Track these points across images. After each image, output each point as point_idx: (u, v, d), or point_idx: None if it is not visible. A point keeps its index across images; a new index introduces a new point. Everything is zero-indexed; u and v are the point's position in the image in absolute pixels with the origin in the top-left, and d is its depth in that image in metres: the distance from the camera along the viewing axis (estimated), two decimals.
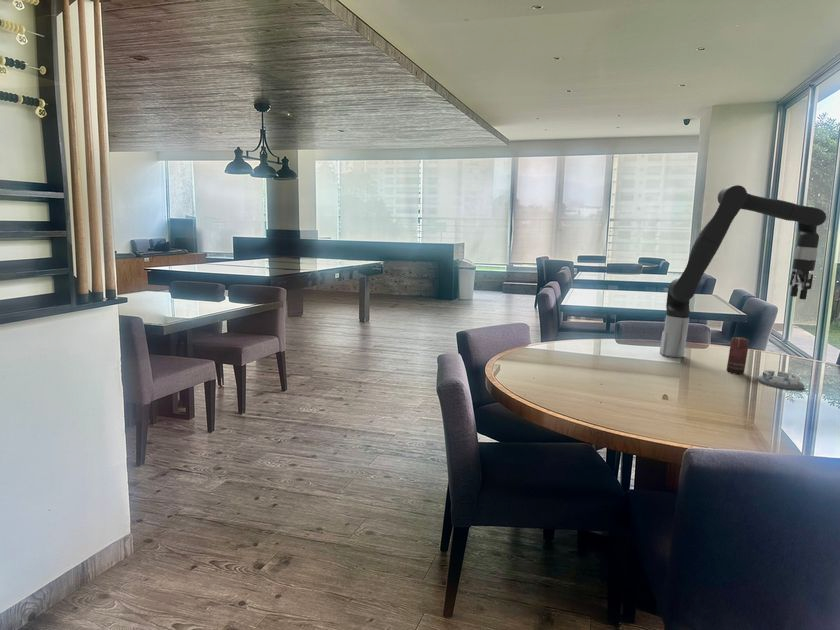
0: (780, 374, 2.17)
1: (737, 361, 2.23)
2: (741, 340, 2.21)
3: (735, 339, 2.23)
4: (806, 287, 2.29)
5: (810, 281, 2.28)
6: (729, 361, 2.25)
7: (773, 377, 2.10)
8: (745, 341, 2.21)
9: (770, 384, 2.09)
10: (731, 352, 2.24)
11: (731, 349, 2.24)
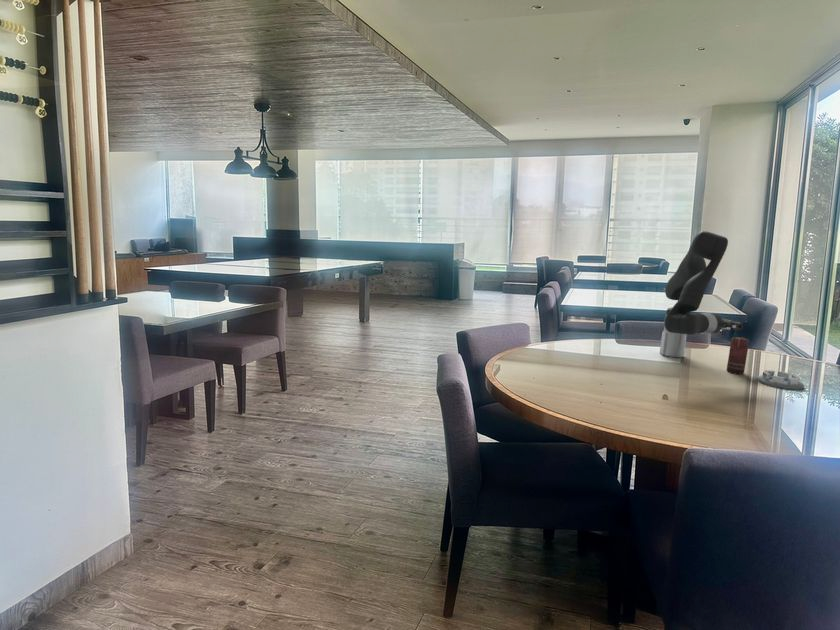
0: (780, 374, 2.17)
1: (737, 361, 2.23)
2: (741, 340, 2.21)
3: (735, 339, 2.23)
4: None
5: None
6: (729, 361, 2.25)
7: (773, 377, 2.10)
8: (745, 341, 2.21)
9: (770, 384, 2.09)
10: (731, 352, 2.24)
11: (731, 349, 2.24)
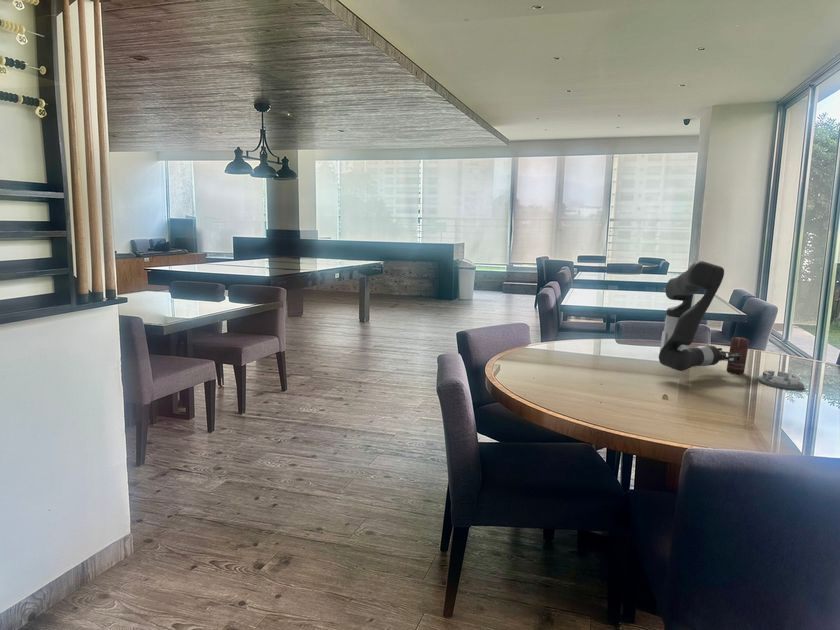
0: (780, 374, 2.17)
1: None
2: (741, 340, 2.21)
3: (735, 339, 2.23)
4: None
5: None
6: None
7: (773, 377, 2.10)
8: (745, 341, 2.21)
9: (770, 384, 2.09)
10: (731, 352, 2.24)
11: (731, 349, 2.24)
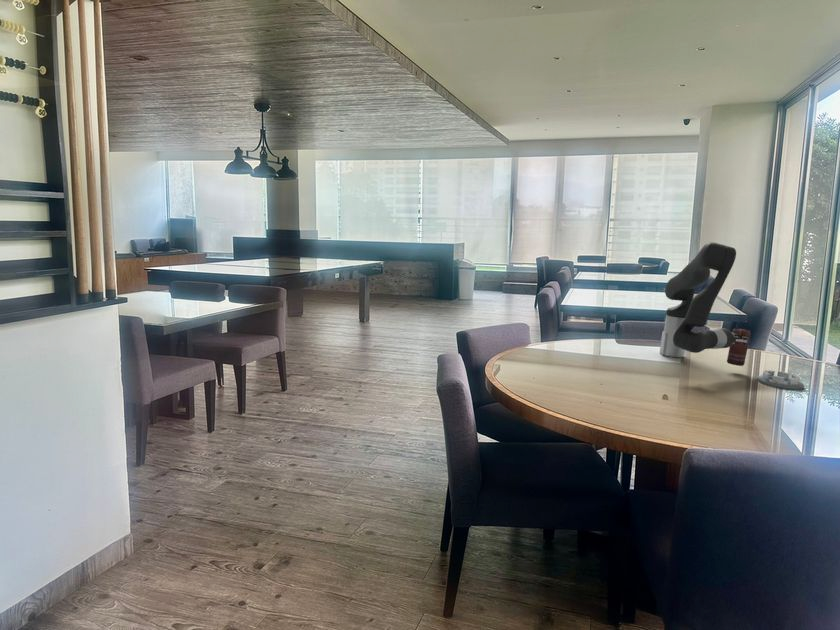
0: (780, 374, 2.17)
1: (738, 352, 2.22)
2: (743, 331, 2.21)
3: (737, 330, 2.22)
4: None
5: None
6: (730, 352, 2.24)
7: (773, 377, 2.10)
8: (747, 332, 2.21)
9: (770, 384, 2.09)
10: None
11: None
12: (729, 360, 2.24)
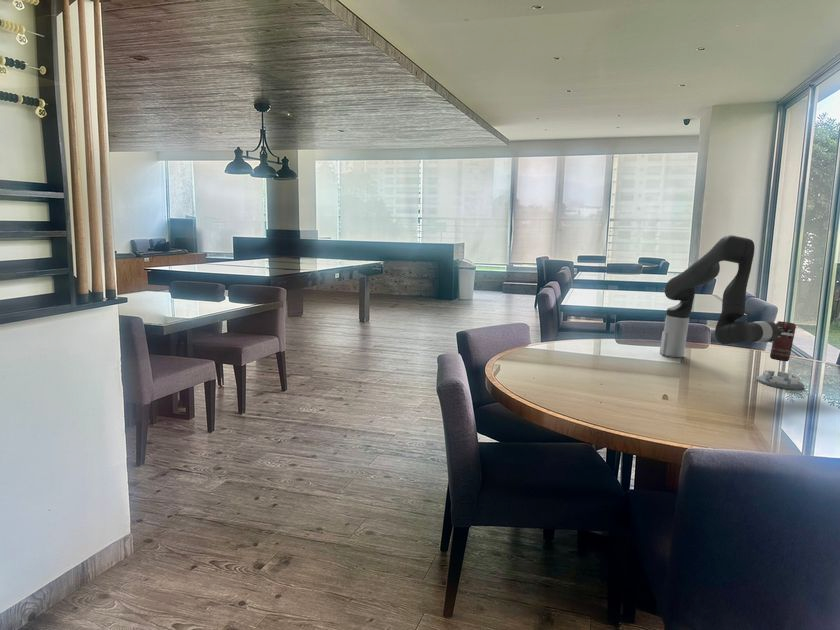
0: (780, 374, 2.17)
1: (783, 347, 2.08)
2: (788, 324, 2.07)
3: (781, 323, 2.09)
4: None
5: None
6: (773, 347, 2.11)
7: (773, 377, 2.10)
8: (792, 325, 2.07)
9: (770, 384, 2.09)
10: None
11: None
12: (773, 355, 2.11)
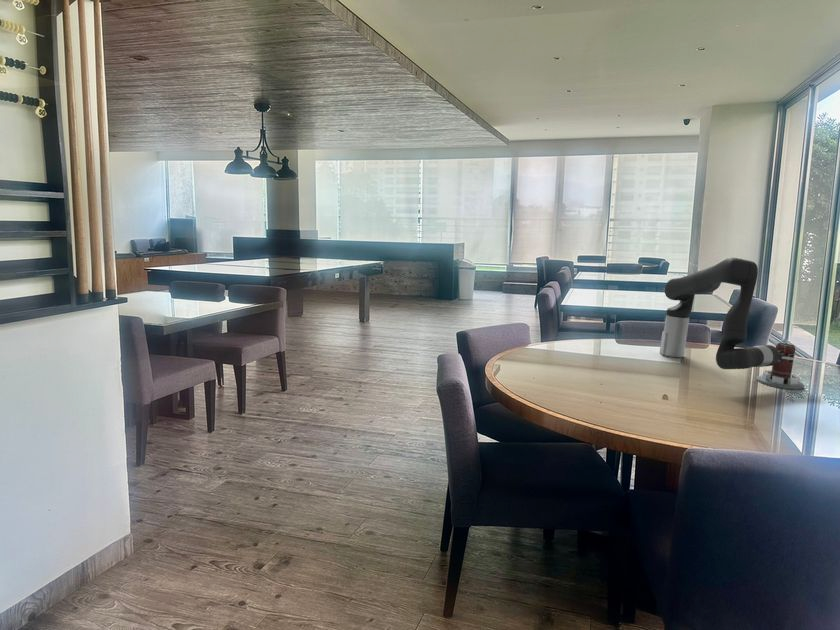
0: None
1: (783, 369, 2.09)
2: (787, 347, 2.07)
3: (780, 346, 2.09)
4: None
5: None
6: (773, 369, 2.11)
7: (773, 377, 2.10)
8: (791, 348, 2.07)
9: (770, 384, 2.09)
10: None
11: None
12: None
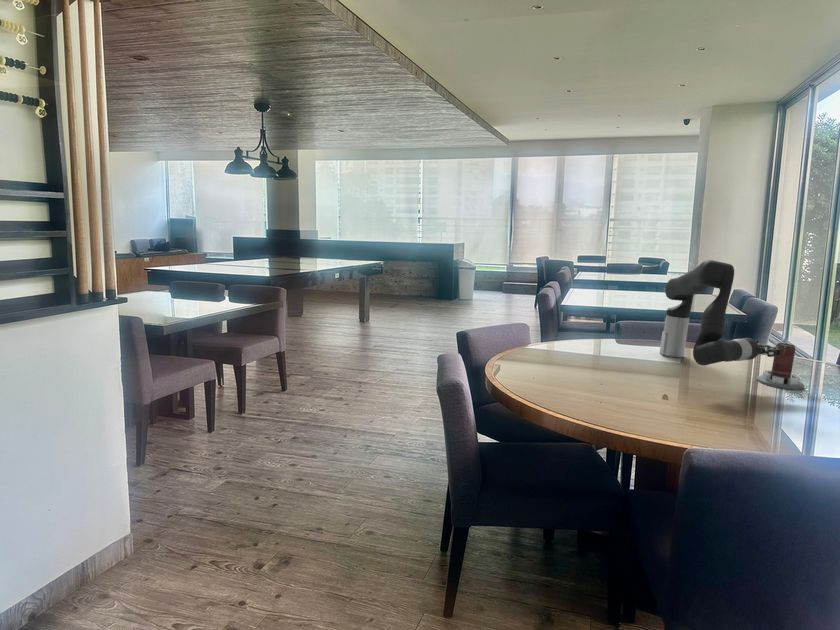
0: None
1: (783, 369, 2.09)
2: (787, 347, 2.07)
3: (780, 346, 2.09)
4: None
5: None
6: (773, 369, 2.11)
7: (773, 377, 2.10)
8: (791, 348, 2.07)
9: (770, 384, 2.09)
10: (776, 360, 2.10)
11: (776, 357, 2.10)
12: None
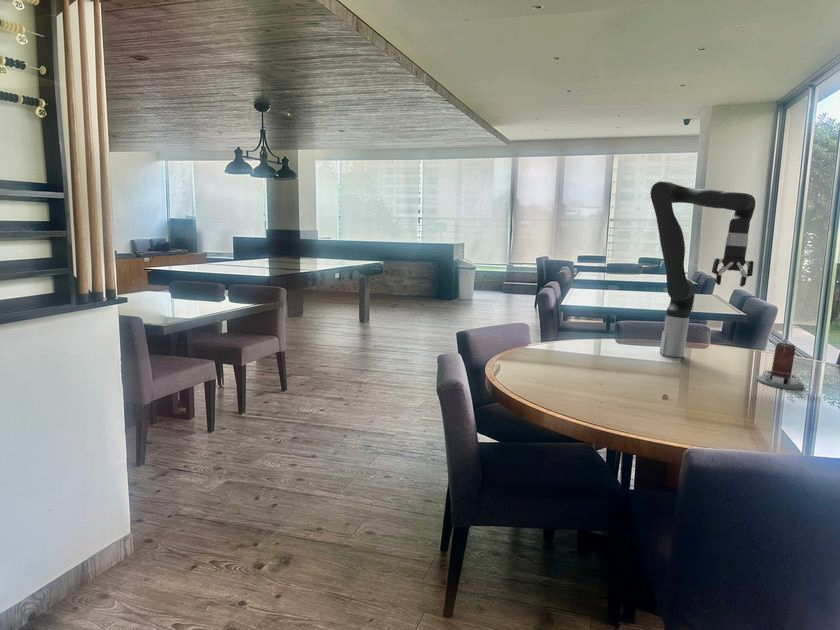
0: None
1: (783, 369, 2.09)
2: (787, 347, 2.07)
3: (780, 346, 2.09)
4: (712, 271, 2.31)
5: (714, 265, 2.29)
6: (773, 369, 2.11)
7: (773, 377, 2.10)
8: (791, 348, 2.07)
9: (770, 384, 2.09)
10: (776, 360, 2.10)
11: (776, 357, 2.10)
12: None
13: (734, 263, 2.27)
